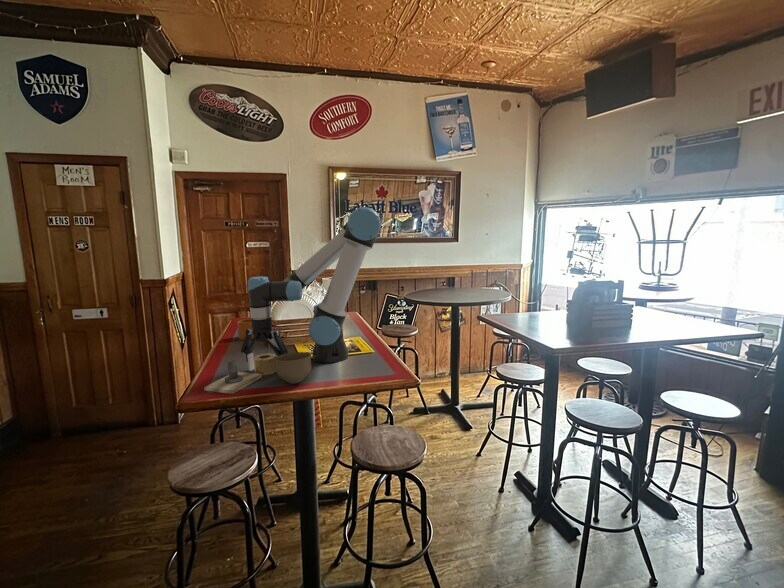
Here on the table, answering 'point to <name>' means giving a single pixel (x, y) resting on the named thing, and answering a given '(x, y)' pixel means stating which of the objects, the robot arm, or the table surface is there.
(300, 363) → the bowl
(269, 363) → the collar
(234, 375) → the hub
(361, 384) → the table surface
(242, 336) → the mug
